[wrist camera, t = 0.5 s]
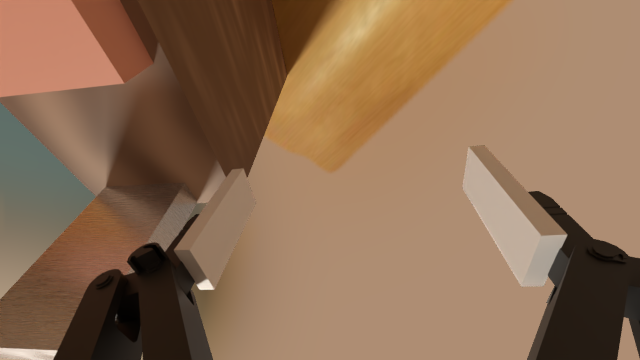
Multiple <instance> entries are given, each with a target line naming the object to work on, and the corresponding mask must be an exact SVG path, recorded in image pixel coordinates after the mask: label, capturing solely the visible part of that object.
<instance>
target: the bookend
mask: <svg viewBox="0 0 640 360" xmlns="http://www.w3.org/2000/svg"><path fill="white" fill-rule="evenodd" d="M196 203H197V200H196V199H195V197H194V195H193V194H192V192H191V191H190V189H189V188H188V186H187V185H186V183H185V182H183V183H164V184H145V185H126V186H107V187H105V188H104V189H103V190H102V191H101V192H100V193H99V194H98V195H97V196H96V198H95V199H94V200H93V201H92V202H91V203H90V204H89V205H88V206H87V207H86V208H85V209H84V210H83V211H82V212H81V213H80V215H79V216H78V217H77V218H76V219H75V220H74V221H73V222H72V223H71V224H70V225H69V227H68V228H66V230H65V231H64V232H63V233H62V234H61V235H60V236H59V237H58V238H57V239H56V240H55V241H54V242H53V243H52V245H51V246H50V247H49V248H48V249H47V250H46V251H45V252H44V253H43V254H42V255H41V256H40V257H39V258H38V260H37V261H36V262H35V263H34V264H33V265H32V266H31V267H30V268H29V269H28V270H27V271H26V272H25V273H24V274H23V275H22V277H21V278H20V279H19V280H18V281H17V282H16V283H15V284H14V285H13V286H12V287H11V288H10V289H9V290H8V292H7V293H6V294H5V295H4V296H3V297H2V298H1V299H0V358H6V359H7V358H8V359H26V360H53V359H54V357H55V355H56V353H57V350H58V348H59V346H60V344H61V342H62V340H63V338H64V336H65V334H66V331H67V329H68V327H69V325H70V323H71V321H72V319H73V317H74V314H75V312H76V310H77V308H78V306H79V304H80V302H81V300H82V298H83V295H84V293H85V291H86V289H87V287H88V286H89V284H90V283H91V282H92V281H93V280H94V279H95V278H96V277H97V276H99V275H100V274H102V273H104V272H106V271H108V270H112V269H119V270H120V271H121V272H122V273H123V275H127V274H130V273H134V272H135V271H134V270H133V269H132V268H131V267H130V265H129V264H128V263H127V260H128V257H129V256H130V255H131V254H132V253H133V252H134V251H135V250H136V249H138V248H139V247H141V246H143V245H145V244H148V243H153V242H156V243H159V245H160V246H161V247H162V249H163V250H164V252H165V251H166V250H167V248H168V247H169V246H170V244H171V243H172V242H173V240H174V239H175V238H176V236H177V235H178V234H179V232H180V231H181V230H182V229H183V227H184V225H185V223H186V221H187V220H188V218H189V216H190V214H191V212H192V210H193V208H194V206H195V205H196Z"/></svg>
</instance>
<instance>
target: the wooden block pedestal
mask: <svg viewBox="0 0 640 360" xmlns="http://www.w3.org/2000/svg"><path fill="white" fill-rule="evenodd" d="M120 2H121V3H122V5H123V7H124V9H125V11H126V13H127V15H128V16H129V18H130V20H131V22H132V24H133V26H134V28H135V30H136V31H137V33H138V35H139V37H140V39H141V41H142V43H143V44H144V46H145V48H146V50H147V52H148V54H149V56H150V57H151V59H152V61H153V64H152V65H150V66H149V67H148V68H146V69H145V70H143V71H142V72H140V73H139V74H137V75H136V76H135V77H133V78H132V79H130V80H129V81H127V82H126V83H124V84H115V85H106V86H97V87H88V88H79V89H70V90H61V91H52V92H42V93H33V94H24V95H15V96H6V97H0V102H1V103H2V104H3V105H4V106H5V107H6V108H7V109H8V110H9V111H10V112H11V113H12V114H13V115H14V116H15V117H16V118H17V119H18V120H19V121H20V122H21V123H22V124H23V125H24V126H25V127H26V128H27V129H28V130H29V131H30V132H31V133H32V134H33V135H34V136H35V137H36V138H37V139H38V140H39V141H40V142H41V143H42V144H43V145H44V146H45V147H47V149H48V150H49V151H50V152H51V153H52V154H53V155H55V157H56V158H57V159H59V160H60V161H61V162H62V163H63V164H64V165H65V166H66V167H67V168H68V169H69V170H70V171H71V172H72V173H73V174H74V175H75V176H76V177H77V178H78V179H79V180H80V181H81V182H82V183H83V184H84V185H85V186H86V187H87V188H88V189H89V190H90V191H91V192H92V193H93V194H94V195H95V196H97V195H98V194H99V193H100V192H101V191H102V190H103V189H104V188H105V187H107V186H126V185H145V184H164V183H183V182H185V183H186V185H187V186H188V188H189V189H190V191H191V192H192V194H193V195H194V197H195V199H196V200H197V203H208V202H209V201H210V199H211V198H212V197H213V195H214V194H215V192H216V191H217V190H218V188H219V187H220V186H221V184H222V183H223V181H224V180H225V179H226V177H227V176H228V174H229V173H230V172H231V170H232V169H241V168H243V169H244V171H245V174H246V177H248V175H249V172H250V169H251V167H252V165H253V162H254V159H255V157H256V154H257V152H258V149H259V147H260V144H261V141H262V139H263V136H264V134H265V131H266V129H267V126H268V124H269V121H270V118H271V116H272V113H273V111H274V108H275V106H276V103H277V101H278V98H279V95H280V93H281V90H282V88H283V85H284V83H285V80H286V78H287V72H286V67H285V63H284V58H283V53H282V48H281V44H280V39H279V34H278V29H277V25H276V20H275V15H274V11H273V6H272V1H271V0H120Z"/></svg>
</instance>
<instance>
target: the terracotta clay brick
mask: <svg viewBox="0 0 640 360" xmlns="http://www.w3.org/2000/svg"><path fill="white" fill-rule="evenodd" d="M152 64H153V61H152V59H151V57H150V56H149V54H148V52H147V50H146V48H145V46H144V44H143V43H142V41H141V39H140V37H139V35H138V33H137V31H136V30H135V28H134V26H133V24H132V22H131V20H130V18H129V16H128V15H127V13H126V11H125V9H124V7H123V5H122V3H121V2H120V0H0V97H6V96H15V95H24V94H33V93H42V92H52V91H61V90H70V89H79V88H88V87H97V86H106V85H115V84H124V83H126V82H127V81H129V80H130V79H132V78H133V77H135V76H136V75H137V74H139V73H140V72H142V71H143V70H145V69H146V68H148V67H149V66H150V65H152Z"/></svg>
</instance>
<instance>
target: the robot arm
mask: <svg viewBox="0 0 640 360" xmlns="http://www.w3.org/2000/svg"><path fill="white" fill-rule="evenodd" d="M463 190H464V191H465V193H466V195H467V196H468V198H469V200H470V201H471V203H472V205H473V206H474V208H475V210H476V211H477V213H478V215H479V216H480V218H481V220H482V221H483V223H484V225H485V227H486V228H487V230H488V232H489V233H490V235H491V237H492V238H493V240H494V242H495V243H496V245H497V247H498V248H499V250H500V252H501V253H502V255H503V256H504V258H505V260H506V261H507V263H508V265H509V267H510V268H511V270H512V272H513V273H514V275H515V277H516V278H517V280H518V282H519V283H520V285H521V286H544V284H545V282H546V280H547V278H548V276H549V278H550V279H551V280H552V282H553V283H554V285H555V286H554V288H553V290H552V292H551V294H550V296H549V298H548V300H547V303H548V304H547V307H546V309H545V312H544V315H543V318H542V320H541V323H540V326H539V329H538V331H537V334H536V337H535V339H534V342H533V345H532V347H531V350H530V353H529V356H528V358H527V360H617V357H618V350H619V343H620V337H621V331H622V324H623V318H624V317H626V318H629V321H630V325H631V328H632V332H633V336H634V339H635V343H636V346H637V350H638V353H639V357H640V258H634V257H630V256H628V255H627V254H626V253H625V252H624V251H623V250H621V249H619V248H618V247H617V246H615V245H612V244H610V243H607V242H605V241H600V240H596V239H593V238H592V237H591V236H590V235H589V234H588V233H587V232H586V231H585V230H584V229H583V228H582V227H581V226H579V224H578V223H576V221H575V220H573V218H571V217H570V216H569V215H567V213H566V212H565V211H564V210H563V209H562V208H560V206H559V205H558V204H557V203H556V202H555V201H554V200H553V199H552V198H550V197H549V196H547V195H545V194H543V193H541V192H539V191H534V192H527V191H526V190H525V188H524V187H523V186H522V185H521V184H520V183H519V182H518V181H517V180H516V179H515V178H514V177H513V176H512V174H511V173H510V172H509V171H508V170H507V169H506V168H505V167H504V166H503V165H502V164H501V163H500V162H499V161H498V160H497V158H496V157H495V156H494V155H493V154H492V153H491V152H490V151H489V150H488V149H487V148H486V147H485V145H481V146H470V147H469V148H468V155H467V162H466V168H465V174H464V181H463ZM255 204H256V201H255V198H254V195H253V193H252V190H251V187H250V185H249V182H248V180H247V177H246V174H245V171H244V169H243V168H241V169H232V170H231V172H230V173H229V174H228V176H227V177H226V179H225V180H224V181H223V183H222V184H221V186H220V187H219V188H218V190H217V191H216V192H215V194H214V195H213V197H212V198H211V199H210V201H209V202H208V203H207V205H206V206H205V208H204V209H203V211H202V212H201V213H200V214H196V215H195V216H194V217H192V218H191V219H190V220H189V221H188V222H187V223H186V224H185V226H184V227H183V230H181V231H180V232H179V234H178V235H177V236H176V238H175V239H174V240H173V242H172V243H171V244H170V246H169V247H168V248H167V250H166V251H165V252H164V250H163V249H162V247H161V246H160V245H159V243H156V242H153V243H148V244H145V245H143V246H141V247H139V248H138V249H136V250H135V251H134V252H133V253H132V254H131V255H130V256H129V257H128V260H127V263H128V264H129V265H130V267H131V268H132V269H133V270H134V271H135V272H134V273H130V274H127V275H123V273H122V272H121V271H120V270H119V269H112V270H108V271H106V272H104V273H102V274H100V275H99V276H97V277H96V278H95V279H94V280H93V281H92V282H91V283H90V284H89V286H88V287H87V289H86V291H85V293H84V295H83V298H82V300H81V302H80V304H79V306H78V308H77V310H76V312H75V314H74V317H73V319H72V321H71V323H70V325H69V327H68V329H67V331H66V334H65V336H64V338H63V340H62V342H61V344H60V346H59V348H58V350H57V353H56V355H55V357H54V359H53V360H141V356H142V352H143V360H213V358H212V354H211V352H210V348H209V344H208V341H207V337H206V334H205V330H204V327H203V324H202V320H201V317H200V314H199V310H198V307H197V303H196V300H195V296H194V294H193V292H192V290H191V288H192V286H193V284H194V282H195V283H196V284H197V286H198V287H199V289H200V290H213V289H215V287H216V285H217V283H218V281H219V279H220V277H221V275H222V273H223V271H224V269H225V266H226V264H227V262H228V260H229V258H230V256H231V254H232V252H233V250H234V248H235V245H236V244H237V242H238V240H239V237H240V235H241V233H242V231H243V229H244V227H245V225H246V223H247V221H248V219H249V217H250V215H251V212H252V210H253V208H254V206H255Z"/></svg>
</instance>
